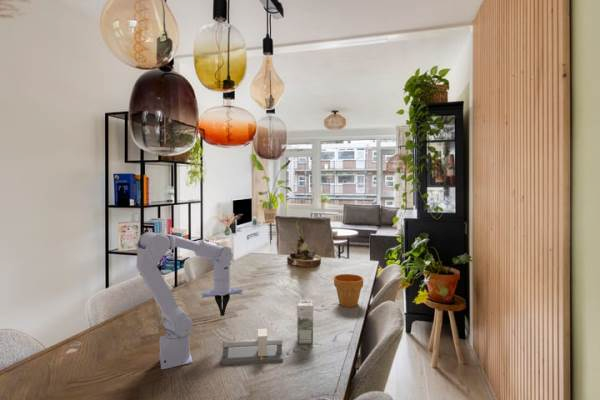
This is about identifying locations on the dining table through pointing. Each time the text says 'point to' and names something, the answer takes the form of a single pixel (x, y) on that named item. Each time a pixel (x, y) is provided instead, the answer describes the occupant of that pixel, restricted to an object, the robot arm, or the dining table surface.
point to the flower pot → (348, 289)
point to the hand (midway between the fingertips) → (222, 314)
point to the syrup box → (305, 322)
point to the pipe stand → (250, 352)
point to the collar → (262, 342)
